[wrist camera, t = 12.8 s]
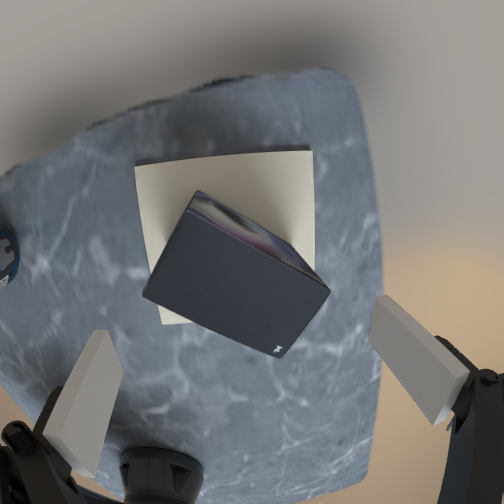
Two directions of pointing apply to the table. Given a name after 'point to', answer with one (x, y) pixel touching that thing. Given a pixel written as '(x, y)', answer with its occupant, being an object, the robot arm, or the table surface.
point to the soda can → (8, 258)
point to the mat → (230, 198)
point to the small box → (236, 278)
